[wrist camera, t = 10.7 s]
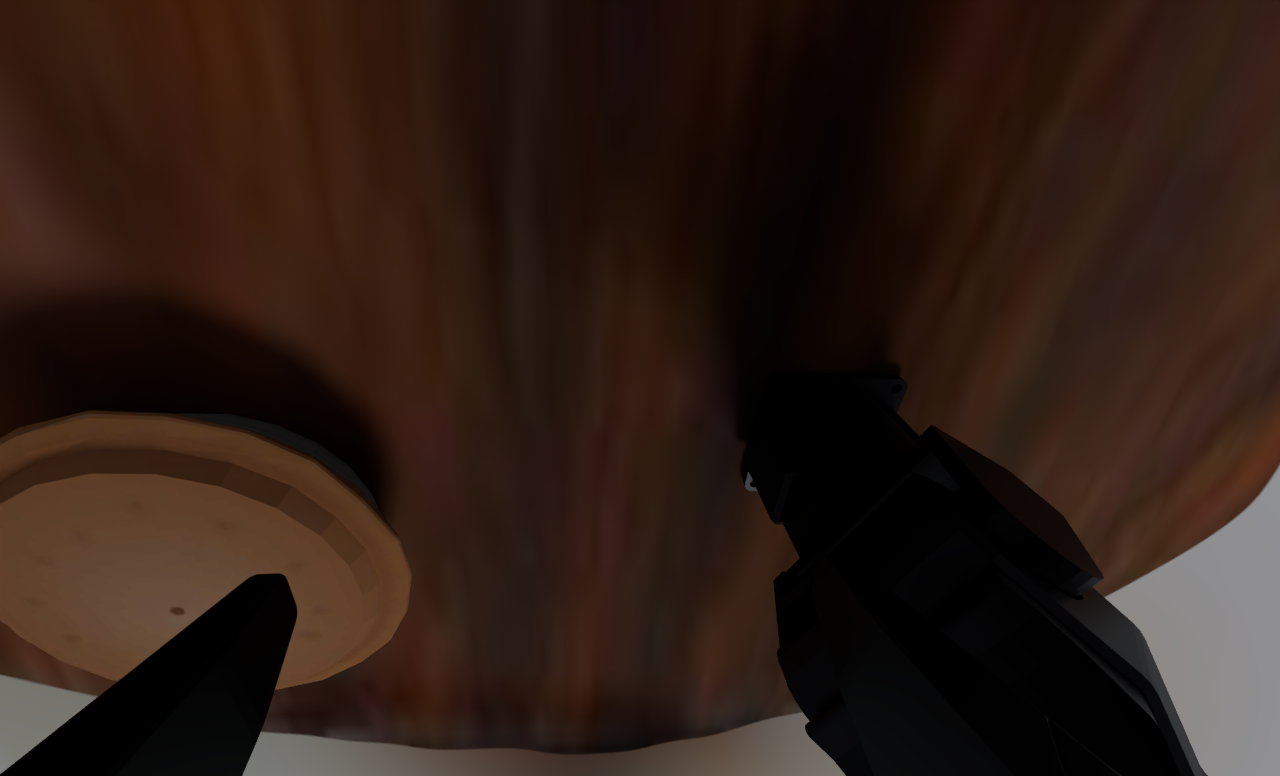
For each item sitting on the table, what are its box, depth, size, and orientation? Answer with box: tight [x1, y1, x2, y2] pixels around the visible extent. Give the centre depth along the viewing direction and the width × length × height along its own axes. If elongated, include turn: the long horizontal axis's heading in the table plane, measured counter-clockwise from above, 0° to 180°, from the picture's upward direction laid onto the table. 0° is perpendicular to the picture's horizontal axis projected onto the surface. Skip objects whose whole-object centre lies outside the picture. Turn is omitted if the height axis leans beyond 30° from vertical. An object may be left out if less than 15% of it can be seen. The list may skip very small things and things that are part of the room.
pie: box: [0, 410, 412, 690], centre depth 21 cm, size 15×16×5 cm
